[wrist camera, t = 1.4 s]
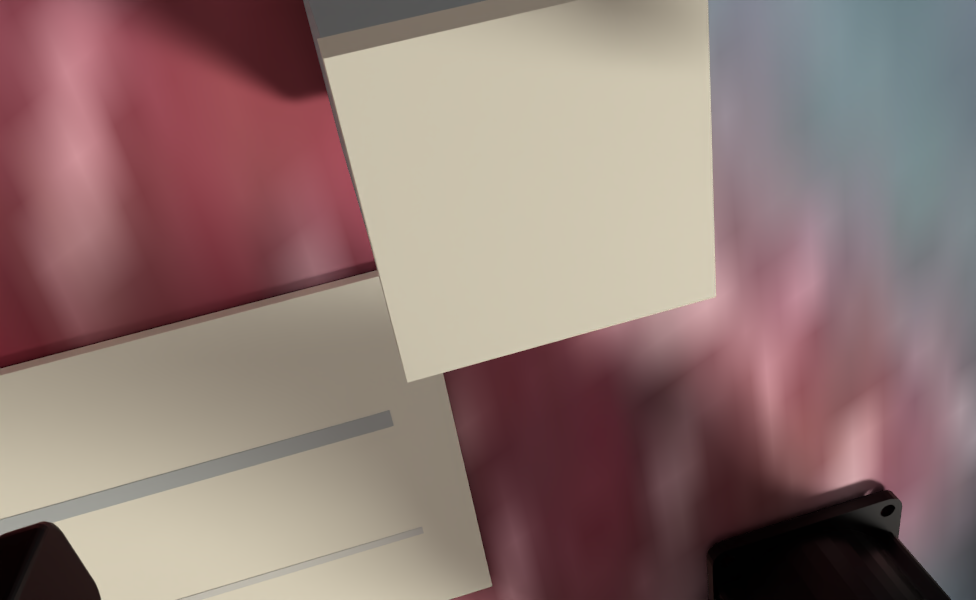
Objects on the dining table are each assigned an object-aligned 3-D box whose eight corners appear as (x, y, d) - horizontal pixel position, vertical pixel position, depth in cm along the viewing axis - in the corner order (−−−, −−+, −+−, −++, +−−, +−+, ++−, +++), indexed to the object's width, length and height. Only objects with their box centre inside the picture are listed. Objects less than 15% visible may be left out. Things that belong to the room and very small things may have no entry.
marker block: (491, -120, 17) (706, -30, 9) (521, 86, 19) (715, 296, 12) (279, -75, 17) (322, 58, 9) (334, 131, 19) (407, 382, 11)
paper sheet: (416, 259, 21) (418, 266, 21) (490, 578, 27) (492, 586, 26) (-325, 453, 19) (-333, 463, 19) (-70, 751, 25) (-74, 762, 25)
